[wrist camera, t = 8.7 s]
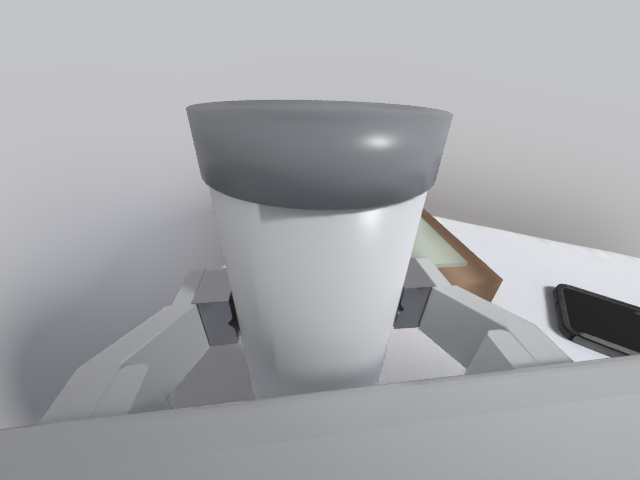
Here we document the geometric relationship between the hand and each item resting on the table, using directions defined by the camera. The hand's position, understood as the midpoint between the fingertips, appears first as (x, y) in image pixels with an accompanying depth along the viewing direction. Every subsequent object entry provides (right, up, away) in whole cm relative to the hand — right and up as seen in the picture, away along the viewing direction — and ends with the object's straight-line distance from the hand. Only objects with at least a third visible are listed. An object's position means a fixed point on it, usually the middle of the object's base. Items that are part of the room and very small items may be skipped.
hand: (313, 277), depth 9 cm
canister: (0, -6, +3) cm, 7 cm away
